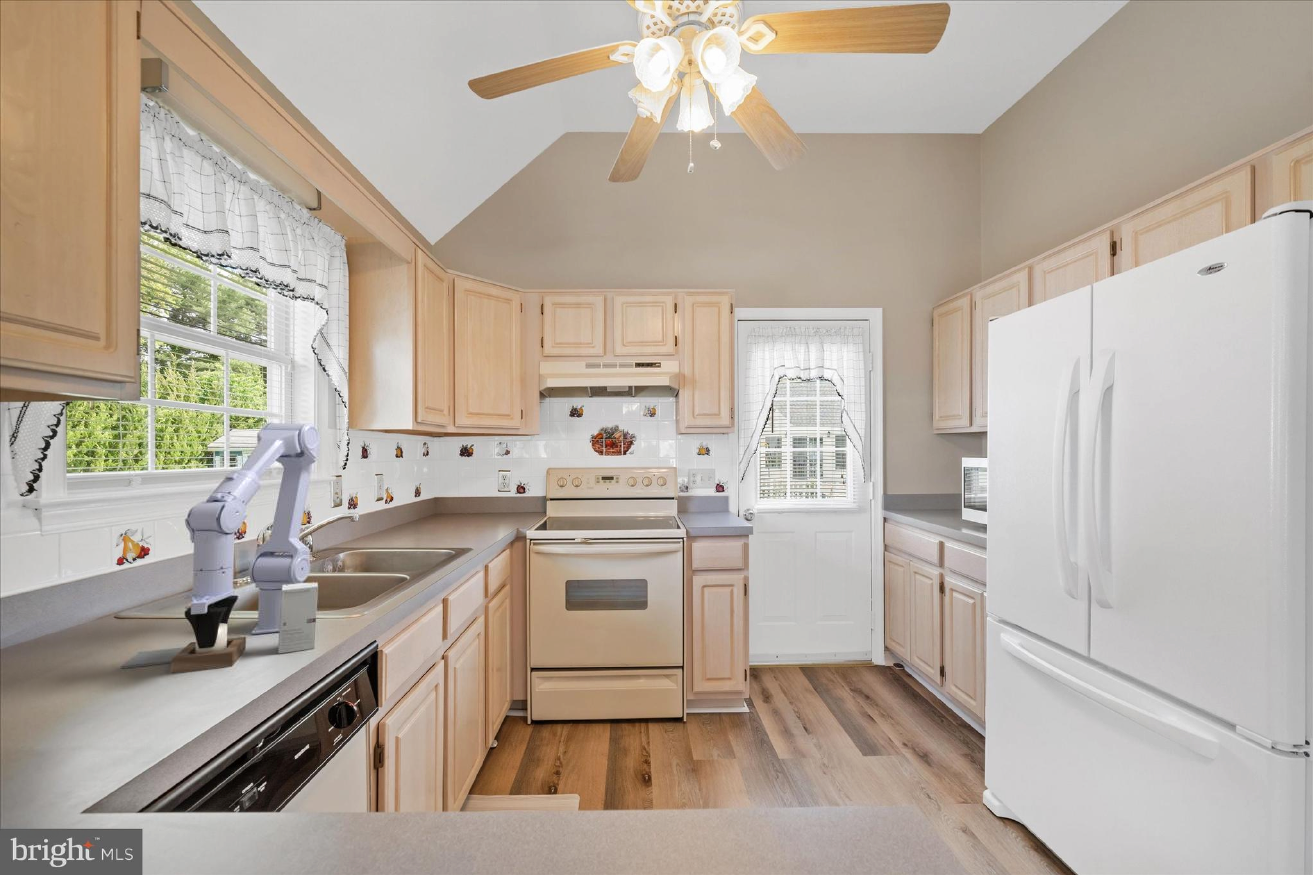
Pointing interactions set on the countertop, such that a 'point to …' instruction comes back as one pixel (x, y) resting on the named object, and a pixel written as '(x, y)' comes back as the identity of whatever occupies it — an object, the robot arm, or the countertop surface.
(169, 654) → the slate mat
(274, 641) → the countertop surface
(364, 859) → the countertop surface
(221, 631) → the cream rounded capsule
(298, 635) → the skincare box
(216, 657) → the walnut holder
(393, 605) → the countertop surface
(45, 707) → the countertop surface
